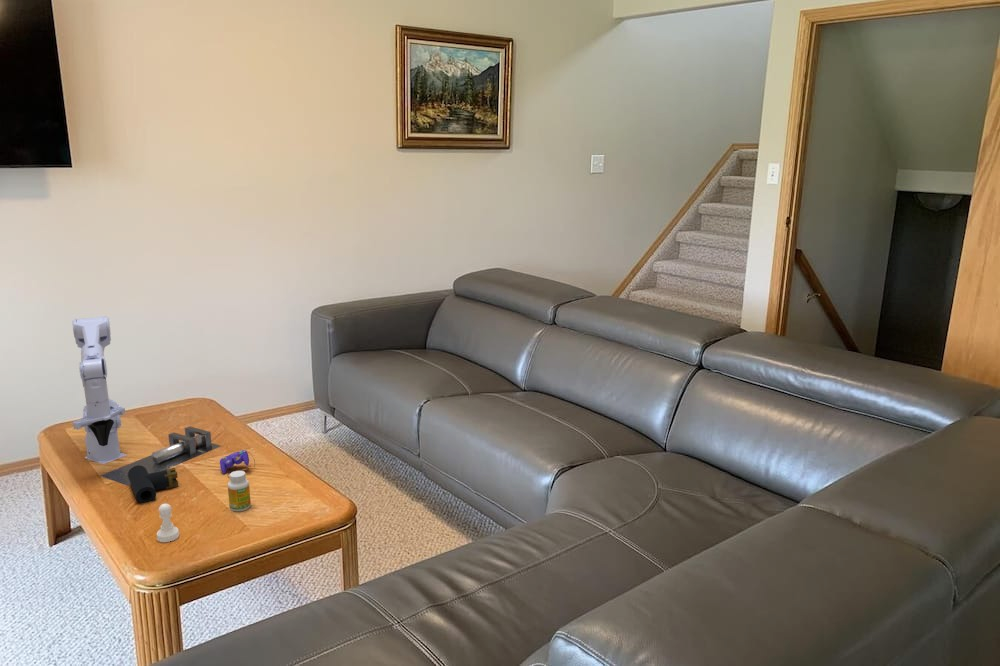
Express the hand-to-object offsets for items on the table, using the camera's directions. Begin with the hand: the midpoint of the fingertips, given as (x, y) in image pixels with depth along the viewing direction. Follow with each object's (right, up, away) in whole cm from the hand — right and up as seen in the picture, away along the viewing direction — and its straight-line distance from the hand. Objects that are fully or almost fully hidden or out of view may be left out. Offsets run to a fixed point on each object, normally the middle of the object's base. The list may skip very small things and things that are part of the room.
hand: (103, 444), depth 215 cm
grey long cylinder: (+15, -5, +18) cm, 24 cm away
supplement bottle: (+45, -15, -15) cm, 49 cm away
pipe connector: (+18, -12, -6) cm, 22 cm away
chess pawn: (+32, -18, -31) cm, 48 cm away
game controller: (+36, -9, +8) cm, 37 cm away
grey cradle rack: (+11, -7, +12) cm, 18 cm away
